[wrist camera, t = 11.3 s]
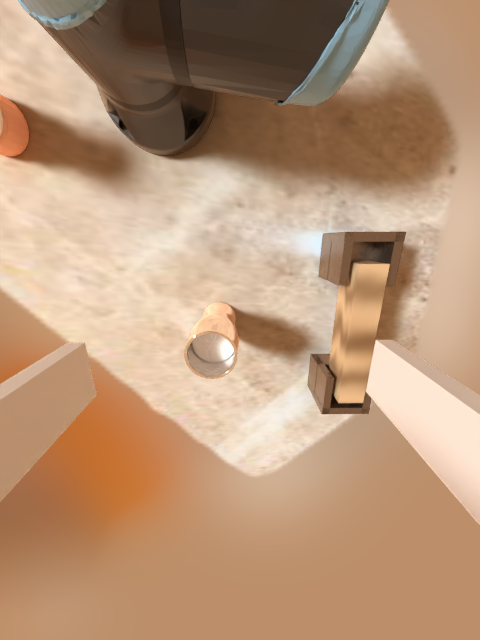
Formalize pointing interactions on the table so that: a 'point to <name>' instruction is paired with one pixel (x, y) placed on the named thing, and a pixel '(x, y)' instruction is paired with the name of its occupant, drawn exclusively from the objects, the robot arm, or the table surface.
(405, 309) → the table surface
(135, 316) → the table surface
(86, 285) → the table surface
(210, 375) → the shiny metal tumbler
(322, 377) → the brackets
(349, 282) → the rail
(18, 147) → the pepper shaker
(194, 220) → the table surface
